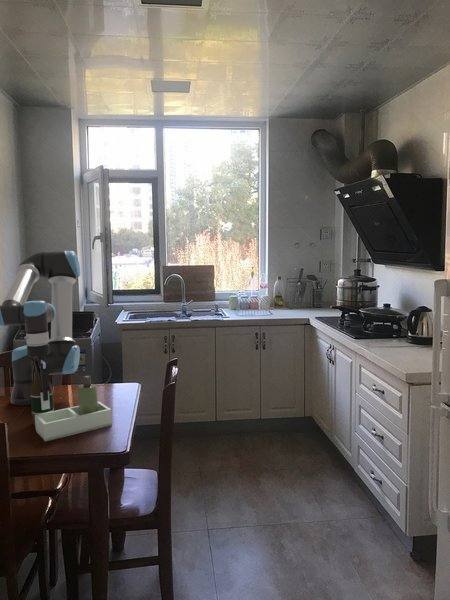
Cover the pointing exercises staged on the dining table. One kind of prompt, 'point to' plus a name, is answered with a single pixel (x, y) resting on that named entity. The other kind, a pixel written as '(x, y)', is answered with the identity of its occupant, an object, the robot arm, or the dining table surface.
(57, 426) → the caddy
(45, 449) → the dining table surface
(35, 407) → the beer bottle
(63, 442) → the dining table surface
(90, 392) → the olive bottle
